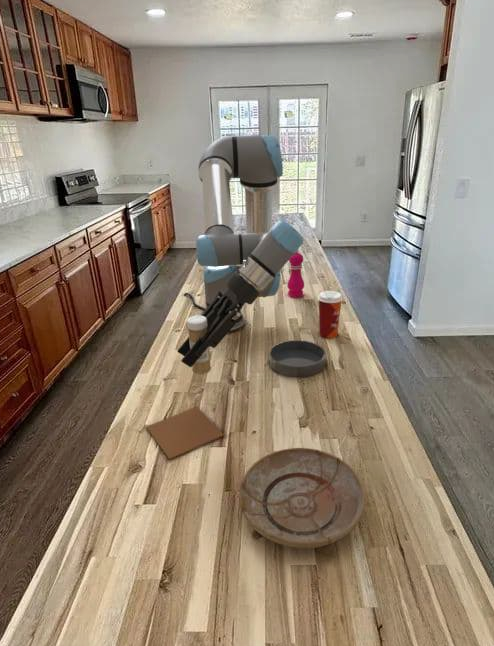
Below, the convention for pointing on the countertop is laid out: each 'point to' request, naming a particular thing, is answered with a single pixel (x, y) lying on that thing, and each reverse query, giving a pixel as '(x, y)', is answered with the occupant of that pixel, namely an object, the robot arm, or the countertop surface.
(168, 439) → the cork mat
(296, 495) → the ceramic bowl
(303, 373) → the pan
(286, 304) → the countertop surface
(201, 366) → the sprinkles bottle
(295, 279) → the pepper mill
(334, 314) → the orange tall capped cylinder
